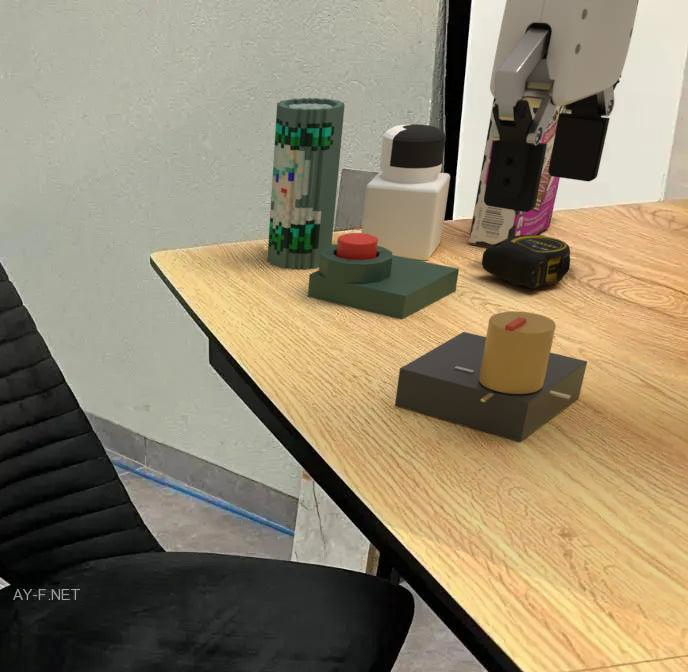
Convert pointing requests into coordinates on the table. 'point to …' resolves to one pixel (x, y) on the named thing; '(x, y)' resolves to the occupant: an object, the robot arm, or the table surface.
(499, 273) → the tape measure
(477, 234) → the candy bar box
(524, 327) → the lock knob
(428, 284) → the button block
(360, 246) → the button
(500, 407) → the plate
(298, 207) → the can
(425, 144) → the medicine bottle
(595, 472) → the table surface
